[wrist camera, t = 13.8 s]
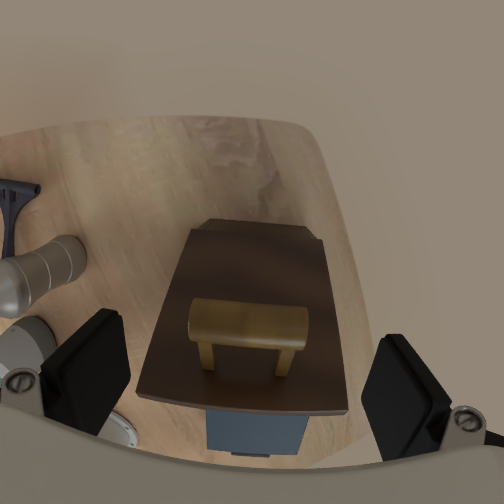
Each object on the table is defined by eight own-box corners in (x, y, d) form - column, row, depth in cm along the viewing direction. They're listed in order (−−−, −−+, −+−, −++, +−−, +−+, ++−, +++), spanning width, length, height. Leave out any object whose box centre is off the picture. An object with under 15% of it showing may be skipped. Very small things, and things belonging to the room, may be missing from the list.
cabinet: (292, 413, 42) (297, 455, 33) (215, 408, 42) (207, 449, 33) (307, 346, 38) (317, 388, 30) (216, 340, 39) (205, 380, 30)
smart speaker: (32, 350, 42) (-9, 387, 28) (20, 307, 39) (-29, 340, 26) (66, 361, 41) (25, 406, 28) (54, 316, 39) (3, 356, 26)
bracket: (-8, 256, 37) (-18, 260, 35) (-7, 177, 34) (-18, 178, 31) (39, 275, 38) (29, 281, 35) (41, 183, 34) (30, 185, 31)
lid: (344, 415, 14) (390, 365, 10) (138, 397, 14) (101, 339, 10) (320, 246, 26) (334, 186, 22) (191, 235, 26) (187, 174, 22)
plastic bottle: (86, 228, 35) (-23, 270, 16) (96, 275, 37) (1, 340, 18) (55, 235, 36) (-47, 274, 16) (65, 278, 37) (-27, 336, 18)
